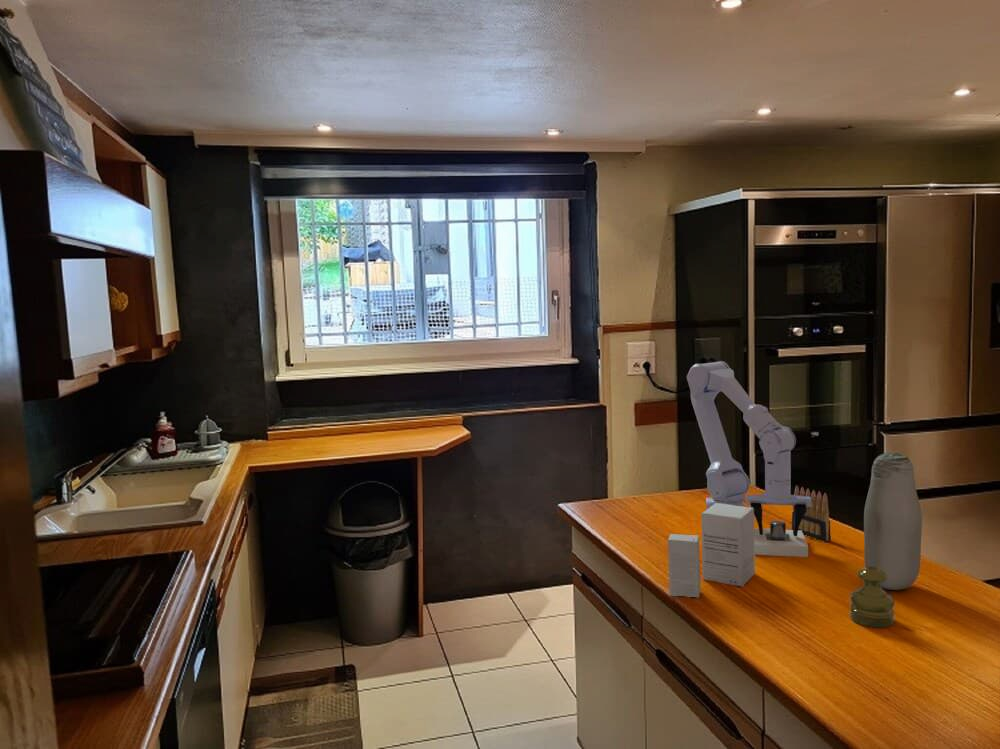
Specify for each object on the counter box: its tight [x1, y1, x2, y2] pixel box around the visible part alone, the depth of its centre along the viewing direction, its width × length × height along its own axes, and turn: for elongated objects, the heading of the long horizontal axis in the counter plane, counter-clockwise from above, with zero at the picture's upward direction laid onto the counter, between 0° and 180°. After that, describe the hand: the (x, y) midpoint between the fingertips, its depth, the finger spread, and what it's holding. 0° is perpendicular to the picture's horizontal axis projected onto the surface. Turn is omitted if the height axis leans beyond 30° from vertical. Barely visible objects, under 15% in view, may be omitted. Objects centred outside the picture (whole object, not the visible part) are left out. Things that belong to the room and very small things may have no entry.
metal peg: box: [769, 520, 787, 541], centre depth 180 cm, size 4×4×6 cm
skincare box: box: [667, 533, 701, 599], centre depth 155 cm, size 6×4×12 cm
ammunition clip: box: [791, 485, 832, 543], centre depth 187 cm, size 11×2×12 cm, turn 25°
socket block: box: [754, 528, 809, 558], centre depth 181 cm, size 12×12×2 cm
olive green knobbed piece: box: [849, 567, 895, 629], centre depth 139 cm, size 7×7×10 cm
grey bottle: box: [863, 452, 923, 591], centre depth 153 cm, size 10×10×28 cm
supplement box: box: [700, 503, 756, 588], centre depth 163 cm, size 9×9×15 cm
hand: (777, 534), depth 180 cm, fingers open, 7 cm apart
